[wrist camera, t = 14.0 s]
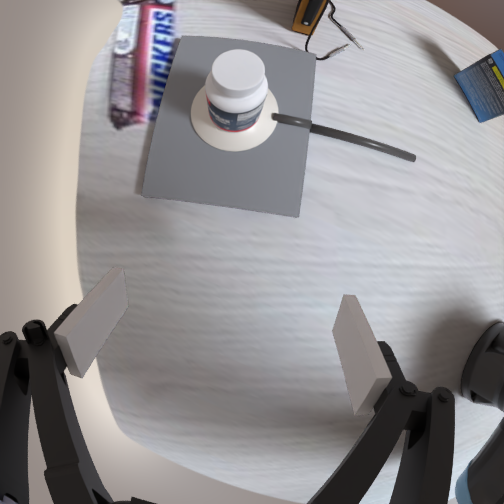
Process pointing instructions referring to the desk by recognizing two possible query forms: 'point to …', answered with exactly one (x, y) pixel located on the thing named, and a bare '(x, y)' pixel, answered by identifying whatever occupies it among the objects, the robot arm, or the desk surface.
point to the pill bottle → (236, 90)
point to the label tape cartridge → (485, 85)
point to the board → (238, 144)
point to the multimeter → (314, 20)
